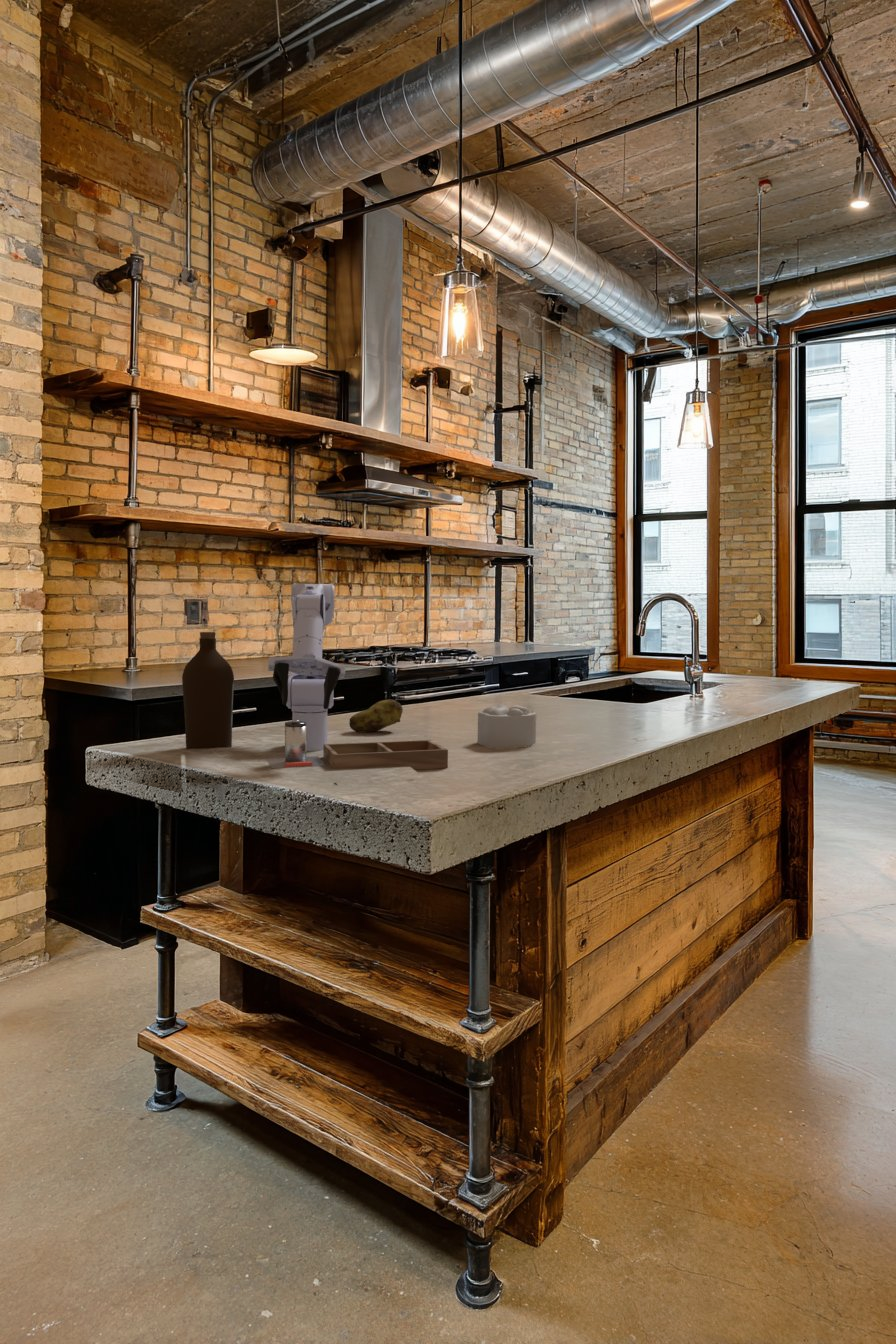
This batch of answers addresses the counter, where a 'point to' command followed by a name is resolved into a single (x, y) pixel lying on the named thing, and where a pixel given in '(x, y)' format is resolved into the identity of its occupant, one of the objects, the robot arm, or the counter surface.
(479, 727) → the lumpy-topped squat cylinder
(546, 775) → the counter surface
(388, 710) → the potato
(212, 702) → the olive oil
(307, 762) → the grey square base plate
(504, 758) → the counter surface
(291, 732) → the cell
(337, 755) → the sorting tray
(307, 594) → the robot arm
